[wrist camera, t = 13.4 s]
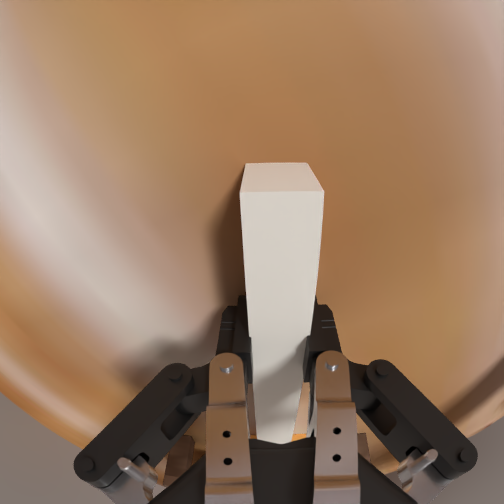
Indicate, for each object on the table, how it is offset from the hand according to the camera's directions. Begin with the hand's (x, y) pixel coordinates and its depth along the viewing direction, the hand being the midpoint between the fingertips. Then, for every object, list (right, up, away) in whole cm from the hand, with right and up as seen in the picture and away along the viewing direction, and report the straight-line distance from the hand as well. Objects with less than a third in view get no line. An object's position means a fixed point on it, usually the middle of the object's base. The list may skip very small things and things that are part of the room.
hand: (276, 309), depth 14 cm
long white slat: (0, -5, +4) cm, 6 cm away
